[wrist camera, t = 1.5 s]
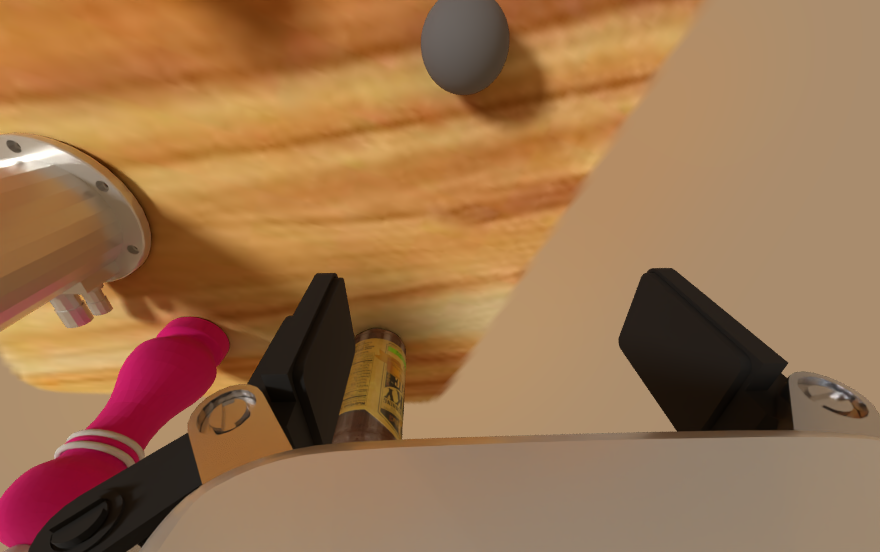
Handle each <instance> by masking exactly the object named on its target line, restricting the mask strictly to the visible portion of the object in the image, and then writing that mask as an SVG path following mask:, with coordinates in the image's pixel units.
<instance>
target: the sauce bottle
mask: <svg viewBox="0 0 880 552" xmlns="http://www.w3.org/2000/svg"><path fill="white" fill-rule="evenodd" d="M405 354H406V350H405V346H404V344H403V342H402V341H401V339H400V338H399V336H397V335H396V334H395V333H393V332H390V331H387V330H383V329H379V328H373V329H369V330H367V331H364V332H362V333H361V334H358V335H357V336H356V337H355V355H354V359H353V363H352V367H351V371H350V374H349V378H348V382H347V386H346V390H345V394H344V398H343V401H342V405H341V409H340V413H339V417H338V421H337V425H336V428H335V432H334V436H333V440H332V444H336V443H347V442H364V441H384V440H402V425H403V414H404V413H403V412H404V390H405V377H406V357H405Z"/></svg>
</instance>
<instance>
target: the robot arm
mask: <svg viewBox="0 0 880 552" xmlns="http://www.w3.org/2000/svg"><path fill="white" fill-rule="evenodd" d="M150 248H151V232H150V228H149V223H148V221H147V218H146V216H145V214H144V211H143V209H142V208H141V206H140V205H139V203H138V201H137V200H136V198H135V197H134V195H133V194H132V193H131V192H130V191H129V190H128V188H127V187H126V186H125V185H124V184H123V183H122V181H120V180H119V179H118V178H117V177H116V176H115V175H114V174H113V173H112V172H110V171H109V170H108V169H107V168H106V167H104V166H103V165H102V164H100V163H99V162H97V161H96V160H94V159H93V158H92V157H90V156H88V155H87V154H85V153H83V152H81V151H79V150H77V149H76V148H74V147H72V146H69V145H67V144H64V143H62V142H59V141H57V140H54V139H51V138H47V137H43V136H39V135H35V134H26V133H8V134H0V332H1V331H2V330H4V329H5V328H7V327H9V326H10V325H12V324H14V323H15V322H17V321H18V320H20V319H22V318H23V317H25V316H26V315H28V314H30V313H31V312H33V311H34V310H36V309H38V308H39V307H41V306H42V305H44V304H46V303H47V302H49V301H50V302H51V304H52V305H53V307H54V308H55V310H54V311H55V312H56V314H57V315H58V316H59V318H60V319H61V321H62V322H63V324H64V325H65V326H66V327H67V328H75V327H79V326H82V325H85V324H87V323H89V322H90V321H92V319H93V318H94V317H93V315H96V316H97V315H103V314H106V313H108V312H110V311H111V310H112V309H113V307H112V306H111V304H110V302H109V300H108V299H107V297H106V296H105V295H104V294H103V292H102V290H101V288H103V286H104V285H103V283H105V282H112V281H116V280H119V279H122V278H124V277H126V276H127V275H129V274H131V273H132V272H134V271H135V270H136V269H138V268H139V267H140V266H141V265H142V264H143V263H144V261H145V260H146V259H147V257H148V255H149V251H150ZM78 294H79V295H82V296H83V297H84V299H85V300H86V303H85V301H84V300H81V298H80V296H79V295H78ZM86 304H87V305H86ZM88 307H89V308H88ZM89 309H90V310H91V311H90V310H89ZM91 312H92V313H91ZM619 346H620V348H621V350H622V352H623V353H624V355H625V356H626V357H627V359H628V360H629V362H630V363H631V365H632V366H633V368H634V369H635V371H636V372H637V374H638V375H639V376H640V378H641V379H642V381H643V382H644V384H645V385H646V387H647V388H648V390H649V391H650V393H651V394H652V395H653V397H654V398H655V400H656V401H657V403H658V404H659V406H660V407H661V408H662V410H663V411H664V413H665V414H666V416H667V417H668V419H669V420H670V422H671V423H672V425H673V426H674V428H675V429H676V430H677V432H636V433H597V434H560V435H525V436H494V437H493V436H492V437H461V438H432V439H405V440H384V441H364V442H347V443H336V444H332V440H333V436H334V432H335V428H336V425H337V421H338V417H339V413H340V409H341V405H342V401H343V398H344V394H345V390H346V386H347V382H348V378H349V374H350V371H351V367H352V363H353V359H354V355H355V339H354V333H353V328H352V322H351V317H350V311H349V305H348V300H347V294H346V289H345V283H344V279H343V278H338V276H337V274H336V273H317V274H316V275H315V276H314V278H313V280H312V282H311V284H310V285H309V287H308V289H307V291H306V293H305V294H304V296H303V298H302V300H301V302H300V303H299V305H298V307H297V309H296V311H295V313H294V314H293V316H288V317H286V318H285V320H284V321H283V323H282V325H281V326H280V328H279V330H278V332H277V333H276V335H275V337H274V338H273V340H272V342H271V344H270V345H269V347H268V349H267V351H266V352H265V354H264V356H263V358H262V359H261V361H260V363H259V365H258V366H257V368H256V370H255V371H254V373H253V375H252V377H251V378H250V380H249V382H248V384H239V385H234V386H229V387H227V388H224V389H221V390H219V391H217V392H215V393H214V394H212V395H210V396H209V397H207V398H206V399H205V400H204V401H203V402H202V403H200V404H199V405H198V407H197V408H196V409H195V410H194V412H193V413H192V414H191V416H190V419H189V421H188V433H186V434H185V435H183V436H181V437H180V438H178V439H176V440H174V441H173V442H171V443H169V444H168V445H166V446H164V447H162V448H161V449H159V450H157V451H156V452H154V453H152V454H151V455H149V456H147V457H145V458H144V459H142V460H140V461H138V462H137V463H135V464H133V465H132V466H130V467H128V468H126V469H125V470H123V471H121V472H120V473H118V474H116V475H114V476H113V477H111V478H109V479H108V480H106V481H104V482H102V483H101V484H99V485H97V486H96V487H94V488H92V489H90V490H89V491H87V492H85V493H83V494H82V495H80V496H79V497H77V498H76V499H74V500H73V501H71V502H70V503H68V504H67V505H65V506H64V507H63V508H62V509H61V510H60V511H58V512H57V513H56V514H55V515H54V516H53V517H52V518H51V519H50V520H49V521H48V522H47V523H46V524H45V525H44V527H43V528H42V529H41V530H40V531H39V533H38V534H37V535H36V537H35V539H34V541H33V542H32V544H31V546H30V548H29V550H28V552H880V415H879V413H878V411H877V410H876V408H875V406H874V405H873V404H872V403H871V402H870V401H869V400H867V399H866V398H865V397H864V396H863V395H861V394H860V393H858V392H857V391H855V390H854V389H852V388H850V387H849V386H847V385H845V384H843V383H841V382H839V381H837V380H834V379H832V378H829V377H827V376H823V375H820V374H816V373H811V372H795V373H793V374H791V375H790V376H789V377H788V378H786V377H785V376H784V375H783V374H782V373H781V372H782V371H783V370H784V368H785V367H786V366H787V364H788V362H787V361H785V360H784V359H783V358H782V357H781V356H779V355H778V354H777V353H775V352H774V351H773V350H772V349H771V348H770V347H768V346H767V345H766V344H765V343H763V342H762V341H761V340H760V339H758V338H757V337H756V336H755V335H754V334H752V333H751V332H750V331H749V330H748V329H746V328H745V327H744V326H743V325H741V324H740V323H739V322H738V321H736V320H735V319H734V318H733V317H732V316H730V315H729V314H728V313H727V312H725V311H724V310H723V309H722V308H721V307H719V306H718V305H717V304H716V303H715V302H713V301H712V300H711V299H710V298H708V297H707V296H706V295H705V294H703V293H702V292H701V291H700V290H699V289H697V288H696V287H695V286H694V285H692V284H691V283H690V282H689V281H688V280H686V279H685V278H684V277H683V276H681V275H680V274H679V273H678V272H677V271H675V270H673V269H672V268H652V269H650V270H648V271H647V273H645V274H643V275H642V277H641V279H640V282H639V285H638V287H637V290H636V293H635V295H634V298H633V301H632V304H631V306H630V309H629V312H628V314H627V317H626V320H625V323H624V325H623V328H622V331H621V333H620V336H619Z"/></svg>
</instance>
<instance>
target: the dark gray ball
mask: <svg viewBox="0 0 880 552" xmlns="http://www.w3.org/2000/svg"><path fill="white" fill-rule="evenodd" d="M508 50H509V29H508V24H507V20H506V17H505V15H504V13H503V11H502V9H501V7H500V6H499V5H498V3H497V2H496V1H495V0H438V1H437V2H436V3H435V5H434V6H433V7H432V9H431V10H430V12H429V14H428V16H427V18H426V20H425V23H424V26H423V30H422V36H421V51H422V57H423V61H424V64H425V67H426V69H427V71H428V73H429V75H430V76H431V78H432V79H433V80H434V81H435V82H436V84H437V85H439V86H440V87H441V88H443V89H444V90H446V91H448V92H450V93H453V94H458V95H469V94H474V93H477V92H479V91H481V90H483V89H485V88H486V87H488V86H489V85H490V84H491V83H492V82H493V81H494V80H495V79H496V78H497V76H498V75H499V73H500V72H501V70H502V68H503V66H504V64H505V61H506V58H507V55H508Z"/></svg>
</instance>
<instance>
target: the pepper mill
mask: <svg viewBox="0 0 880 552" xmlns="http://www.w3.org/2000/svg"><path fill="white" fill-rule="evenodd" d="M228 351H229V340H228V338H227V336H226V334H225V333H224V332H223V331H222V330H221V329H220V328H219V327H218V326H216V325H215V324H213V323H211V322H209V321H207V320H204V319H201V318H197V317H181V318H177V319H175V320H172V321H171V322H170V323H168V324H167V326H166V327H165V328H164V329H163V330H162V331H161V332H160V333H159V334H158V335H157V337H156V338H153V339H150V340H148V341H145V342H143V343H142V344H140V345H139V346H137V347H136V348H135V349H134V351H133V352H132V353H131V354H130V355H129V356H128V358H127V359H126V360H125V362H124V364H123V366H122V368H121V369H120V372H119V375H118V378H117V381H116V384H115V388H114V390H113V393H112V395H111V397H110V399H109V401H108V403H107V405H106V406H105V408H104V409H103V410H102V411H101V413H100V414H99V415H98V417H97V418H96V419H95V420H94V421H93V422H92V423H91V424H90V425H89V426H88V427H87V428H86V429H85V430H81V431H78V432H75V433H73V434H72V435H70V437H68V439H67V441H66V443H65V444H64V445H62V446H60V447H59V448H58V449H57V450H56V452H55V454H54V457H55V459H54V460H51V461H48V462H45V463H42V464H40V465H37V466H35V467H33V468H31V469H30V470H28V471H27V472H25V473H24V474H23V475H21V476H20V477H19V478H18V479H17V480H15V482H14V483H13V484H12V485H11V486H10V487H9V488H8V489H7V490H6V491H5V493H4V494H3V496H2V497H1V498H0V542H2V543H3V544H5V545H6V546H8V547H9V548H8V549H7V550H5V551H4V552H28V550H29V548H30V546H31V544H32V542H33V541H34V539H35V537H36V535H37V534H38V533H39V531H40V530H41V529H42V528H43V527H44V525H45V524H46V523H47V522H48V521H49V520H50V519H51V518H52V517H53V516H54V515H55V514H56V513H57V512H58V511H60V510H61V509H62V508H63V507H64V506H65V505H67V504H68V503H70V502H71V501H73V500H74V499H76V498H77V497H79V496H80V495H82V494H83V493H85V492H87V491H89V490H90V489H92V488H94V487H96V486H97V485H99V484H101V483H102V482H104V481H106V480H108V479H109V478H111V477H113V476H114V475H116V474H118V473H120V472H121V471H123V470H125V469H126V468H128V467H130V466H132V465H133V464H135V463H137V462H138V461H140V460H142V459H144V456H145V455H144V449H145V447H146V446H147V444H148V443H149V441H150V440H151V439H152V437H153V436H154V435H155V434H156V433H157V432H158V430H159V429H160V428H161V427H162V426H164V425H165V424H166V423H167V422H168V421H169V420H170V419H171V418H173V417H174V416H175V415H177V414H178V413H180V412H181V411H183V410H184V409H186V408H187V407H189V406H191V405H192V404H193V403H195V402H196V401H197V400H198V399H199V398H201V397H202V396H203V395H204V394H205V393H206V392H207V390H208V389H209V388H210V387H211V385H212V384H213V382H214V380H215V378H216V373H217V369H216V367H217V366H218V365H219V364H220V363H221V361H222V360H223V359H224V357H225V356H226V354H227V353H228Z"/></svg>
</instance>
